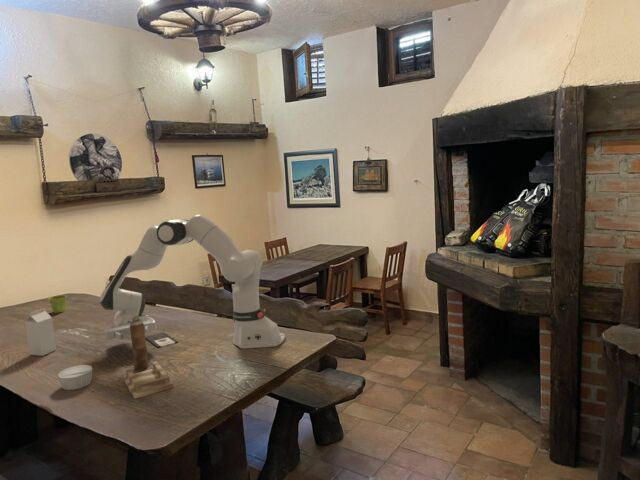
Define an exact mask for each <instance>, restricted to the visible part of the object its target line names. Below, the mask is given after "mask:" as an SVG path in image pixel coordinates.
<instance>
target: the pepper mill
mask: <svg viewBox="0 0 640 480" xmlns="http://www.w3.org/2000/svg"><path fill="white" fill-rule="evenodd" d="M130 332H131V336H130V339H131V350H132V354H133V355H132V356H133V364H134V369H135V371H137V370H139V371H141V370H144V369H145V370H146V369H147V368H149V358H148V349H147V342H146V339H145V337H146V333H145V331H144V323H143V321H142V320H141V319H139V317H138V316H134V317H133V321H131V322H130Z"/></svg>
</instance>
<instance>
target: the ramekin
mask: <svg viewBox="0 0 640 480" xmlns="http://www.w3.org/2000/svg"><path fill="white" fill-rule="evenodd" d="M92 376H93V367H92V365H89V364H79V365H74V366H71V367H67V368H65V369H63V370H60V372H59V373H58V374H57V378H58V380H59V383H60V385H61V388H62V389H64V390H65V391H75V390H79V389H83V388H84V387H87V386H88V385H90V384H91V382H92V378H93V377H92Z"/></svg>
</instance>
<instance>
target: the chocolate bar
mask: <svg viewBox="0 0 640 480" xmlns="http://www.w3.org/2000/svg"><path fill="white" fill-rule="evenodd" d="M145 340H147V342H149V343H150V344H151V345H154V346H155V347H156V348H157V349H160V348H163V347H167V346H170V345H174V344H178V343H179V341H178V340H177V339H175V338H173V337H172V336H170V335H169V334H167V333H166V332H164V331H162V332H159V333H155V334H152V335H151V334H150V335H147V336H145Z"/></svg>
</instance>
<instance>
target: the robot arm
mask: <svg viewBox="0 0 640 480" xmlns="http://www.w3.org/2000/svg"><path fill="white" fill-rule="evenodd" d="M193 241H195V242H196V243H197V244H198V245H199V246H201V247H202V248H203V249H204V250H205V251H206V252H207V253H208V254H210V255H211V256H212V257H213V258H214V259H215V261H216V262H217V264H218V265H219V267H220V269H221V274H222V276H223V277H224V278H225V280H226V281H228V282H230V283H231V282H232V283H233V282H234V286H233V289H232V305H233V310H232V318H233V319H232V320H233V323H234V332H233V339H232V343H233V345H235V346H237V347H238V348H239V349H255V348H256V349H257V348H259V349H260V348H270V347H271V348H272V347H273V348H274V347H277V346H279V345H282V343H283V342H284V341H285V339H286V335H285V333H281V332H280V329H279V326H278V324H277V322H274V321H272V320H271V319H270V318H268V317H267V316H265V315H266V314H265V312H266V308H264V309H263V308H261V307H260V295H259V294H260V293H259V291H260V290H259V288H260V287H259V286H260V277H261V269H262V266H263V263H264V262H263V256H262V254H260V252H258V251H256V250H253V249H246V250H243V251H240V250H239V249H238V248H237V247H236V245H235V243H234V242H233V238H232V236H230V235H229V234H227V232H226V231H224V230H223V229H222V228H221V227H219V225H218V224H216V223H215V222H214V221H212V220H211V219H209V218H208V217H206V216H204V215H203V214H195V215H193V216H192V217H191V218H189V220H188V219H179V218H177V219H170V220H165V221H163V222H161V223H160V224H159V225H152V226H150V227H149V228H148V229H147V230H146V231H145V233H144V235H143V237H142V239H141V240H140V243H139V246H138V247H137V249H136V250H135V251H134V252H133V253H132V254H129V255H127V256H126V257H125V258H124V259H123V261H122V262H121V263H120V265H119V266H118V268H117V270H116V272H115V273H114V274H113V277H112V278H111V279H110V281H109V282H108V285H107V286H106V287H105V288H104V290H103V291H102V292H101V294H100V296H99V297H100V298H99V304H100V306H101V308H103V309H104V310H105V311H107V310H108V311H116V313H115V314H114V318H113V324H114V325H112V326H107V327H105V328H104V329H103V330H102V334H103V335H104V338H105V340H107V341H109V340H114V339H119V340H120V339H124V337H131V332H130V322H131V321H133V317H134V316H138V317H139V319H141V320H142V321H143V323H144V331H145V334H148V332H151V331H155V330H157V323H156V322H157V321H156V320H155V319H154V318H153V317H150V316H149V315H148V314H144V311H145V308H146V299H145V296H144V294H143V293H141V292H137V291H133V290H128V289H123V288H120V287H121V285H122V283H123V282H124V280H125V279H126V277H127V276H128V275H129V274H130V273H133V272H138V271H148V270H151V269H155V268H156V267H158V266H160V264H161V263H162V260H163V258H164V255H165V253H166V251H167V247H168V246H180V245H185V244H189V243H191V242H193Z"/></svg>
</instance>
